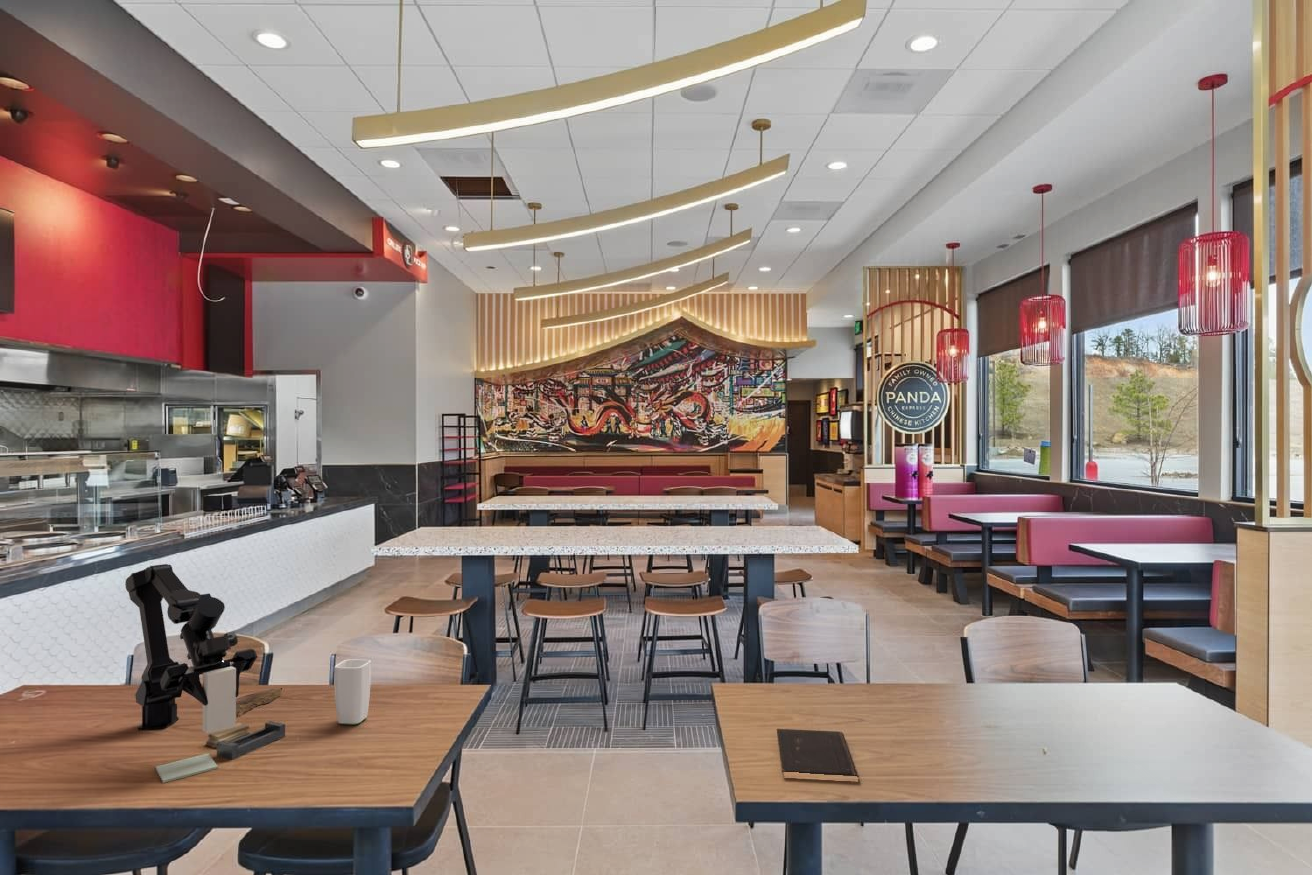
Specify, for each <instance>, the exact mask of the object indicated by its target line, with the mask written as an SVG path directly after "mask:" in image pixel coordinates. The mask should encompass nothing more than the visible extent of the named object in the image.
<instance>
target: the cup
mask: <svg viewBox="0 0 1312 875" xmlns="http://www.w3.org/2000/svg"><path fill="white" fill-rule="evenodd" d="M371 664H372V661H371V660H370V659H356V658H351V659H344V660H342V661H340V662H339V663H337V664H336V665H335V666H334V667H333V668H334V670H333V671H334V674H333V675H334V681H333V682H334V683H333V684H334V703H335V709H336V710H335V711H336V719H337V723H339V724H341V725H346V726H347V725H350V726H351V725H354V726H355V725H358V724H360V723H361V722H362V721H364V720H365V719H366V718H368V713H369V705H370V698H371V697H370V695H371V681H372V680H371V678H372V676H371V675H372V674H371V673H372V671H371V670H372V667H371V666H372V665H371Z"/></svg>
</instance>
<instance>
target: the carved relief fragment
mask: <svg viewBox="0 0 1312 875" xmlns="http://www.w3.org/2000/svg"><path fill="white" fill-rule="evenodd" d="M274 688H275V687H273V688H270V689H267V690H262V691H259V692H256V693H251V694H248V695H244V696H241V697H239V698H238V697H236V716H240V717H241V716H242V715H244V714H245V713H247V712H248V711H251V710H253V709H254V708H255V707H259V706H263V705H265V704H268V703H271V702H272V701H273V700H275V699H277V698H281V697H282V696H281V695H282V689H274Z"/></svg>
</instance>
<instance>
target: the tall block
mask: <svg viewBox="0 0 1312 875" xmlns="http://www.w3.org/2000/svg"><path fill="white" fill-rule="evenodd" d="M202 687H203V689H204V691H205V694H206V696H207V700H208V704H207V705H206V706H205V705H203V704H202V728H201V729H202V732H203V733H206V734H207V735H209V734H210V733H213V732H216V731H218V730H222V729H225V728H228V727H232V726H235V725H236V724H237V723H236V722H237V721H236V720H237V717H236V699H237V697H236V668H234V667H232V666H231V667H226V668H222V669H218V670H214V671H209V672H205V673H203V674H202Z"/></svg>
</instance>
